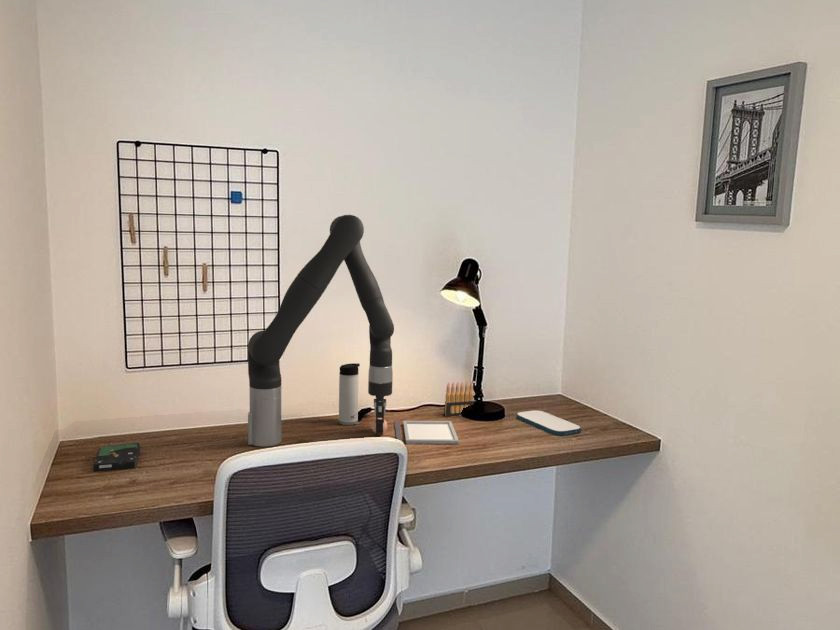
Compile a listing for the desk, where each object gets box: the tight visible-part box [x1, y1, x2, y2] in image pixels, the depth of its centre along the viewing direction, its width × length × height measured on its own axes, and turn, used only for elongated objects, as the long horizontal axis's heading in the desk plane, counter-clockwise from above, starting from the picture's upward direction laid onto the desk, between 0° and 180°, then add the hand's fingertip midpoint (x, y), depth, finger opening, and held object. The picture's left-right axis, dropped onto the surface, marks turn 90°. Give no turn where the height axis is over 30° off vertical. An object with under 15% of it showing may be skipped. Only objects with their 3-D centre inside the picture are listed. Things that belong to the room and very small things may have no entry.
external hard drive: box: [516, 409, 582, 437], centre depth 225 cm, size 24×12×2 cm, turn 29°
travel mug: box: [338, 362, 361, 426], centre depth 219 cm, size 6×7×20 cm
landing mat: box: [394, 420, 460, 445], centre depth 211 cm, size 19×22×1 cm
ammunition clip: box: [443, 381, 475, 418], centre depth 232 cm, size 11×2×12 cm, turn 111°
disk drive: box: [92, 442, 141, 473], centre depth 180 cm, size 10×3×15 cm
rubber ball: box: [371, 418, 388, 434], centre depth 210 cm, size 5×5×5 cm
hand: (379, 431), depth 210 cm, fingers closed on rubber ball, 5 cm apart
